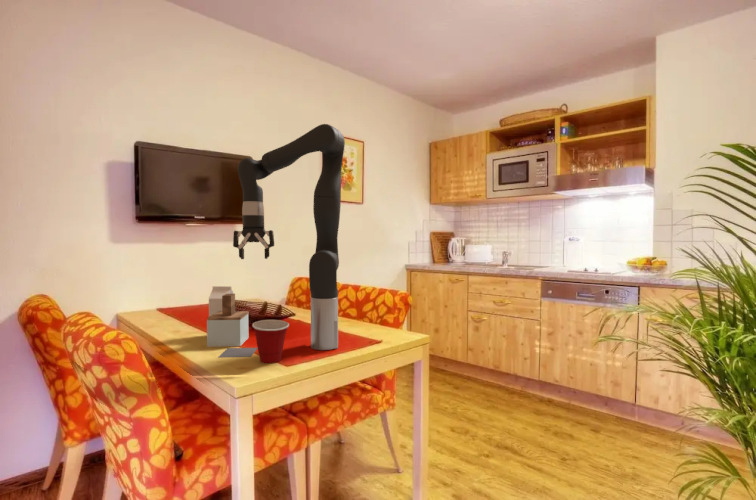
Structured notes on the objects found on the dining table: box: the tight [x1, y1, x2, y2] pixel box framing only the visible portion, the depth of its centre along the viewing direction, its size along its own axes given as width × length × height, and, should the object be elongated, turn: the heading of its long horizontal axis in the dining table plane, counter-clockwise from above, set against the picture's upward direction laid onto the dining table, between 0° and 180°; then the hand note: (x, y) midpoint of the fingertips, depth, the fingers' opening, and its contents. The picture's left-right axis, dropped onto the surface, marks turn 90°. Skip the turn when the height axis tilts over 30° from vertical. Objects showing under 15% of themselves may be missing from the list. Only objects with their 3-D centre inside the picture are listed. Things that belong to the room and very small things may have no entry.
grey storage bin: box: [206, 314, 250, 348], centre depth 140 cm, size 11×11×10 cm
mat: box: [217, 347, 258, 358], centre depth 127 cm, size 10×10×1 cm
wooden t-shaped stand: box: [206, 293, 250, 321], centre depth 140 cm, size 11×11×8 cm
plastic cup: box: [251, 319, 290, 364], centre depth 119 cm, size 11×11×12 cm
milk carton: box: [208, 285, 235, 317], centre depth 149 cm, size 7×7×19 cm
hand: (254, 258), depth 145 cm, fingers open, 8 cm apart
